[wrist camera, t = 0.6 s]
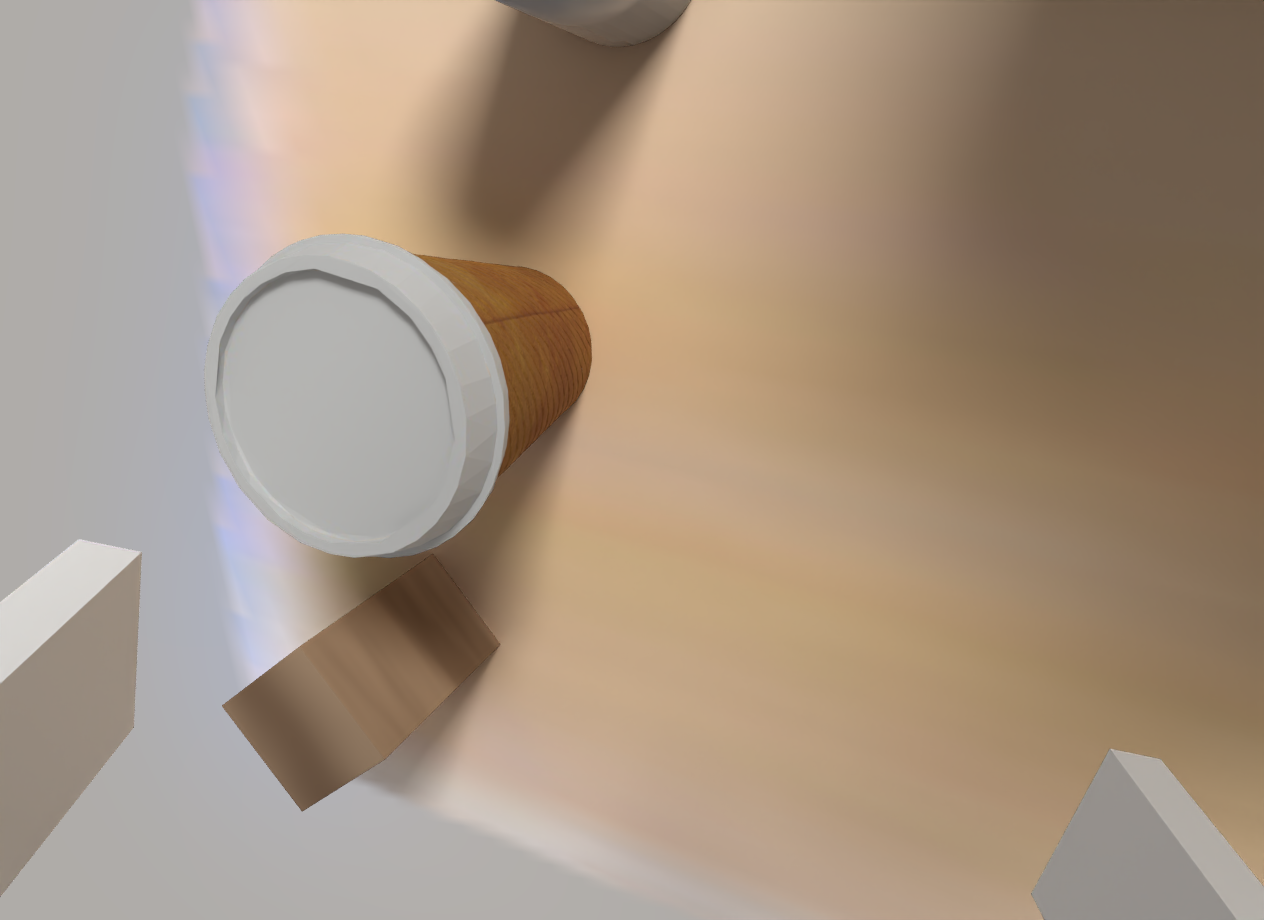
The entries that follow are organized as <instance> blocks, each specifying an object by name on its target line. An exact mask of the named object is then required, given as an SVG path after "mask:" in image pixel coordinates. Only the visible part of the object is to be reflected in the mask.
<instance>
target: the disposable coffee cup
mask: <svg viewBox="0 0 1264 920" xmlns="http://www.w3.org/2000/svg"><path fill="white" fill-rule="evenodd" d="M591 361H592V353H591V338H590V333H589V328H588V325H587V323H586V320H585V318H584V315H583V313H582V311H581V309H580V308H579V306H578V305H577V303H576V302H575V300H574V299H573V297H572V296H571V295H570V294H569V293H568V291H567V290H566V289H565V288H564V287H563V286H562V285H560V284H559V283H558V282H556V281H555V280H554V279H552V278H551V277H549V276H547V275H545V274H543V273H541V272H539V271H537V270H533V269H529V268H525V267H514V266H506V265H498V264H490V263H482V262H474V261H466V260H457V259H445V258H438V257H432V256H425V255H416V254H412V253H410V252H408V251H406V250H404V249H402V248H401V247H399V246H397V245H393V244H390V243H387V242H383V241H380V240H377V239H374V238H370V237H367V236H362V235H351V234H331V235H319V236H316V237H312V238H308V239H304V240H301V241H299V242H296V243H294V244H292V245H289V246H288V247H286V248H284V249H283V250H281V251H279V252H278V253H276V254H275V255H273V256H271V257H270V258H269V259H268V260H267V261H266V262H265V263H264V264H263V265H262V266H261V267H260V268H259V269H258V270H257V271H256V272H254V273H253V274H251V275H250V276H248V277H247V278H245V279H244V280H243V282H242V283H241V284H240V285H239V286H238V287H237V288H236V289H235V290H234V291H233V292H232V293H231V294H230V296H229V297H228V299H227V301H226V302H225V304H224V305H223V307H222V309H221V310H220V312H219V313H218V315H217V317H216V321H215V324H214V327H213V330H212V333H211V336H210V339H209V342H208V346H207V353H206V360H205V368H204V383H205V396H206V404H207V410H208V418H209V421H210V424H211V427H212V430H213V433H214V437H215V440H216V443H217V446H218V449H219V452H220V454H221V456H222V458H223V459H224V461H225V463H226V465H227V467H228V468H229V470H230V472H231V474H232V476H233V477H234V479H235V481H236V483H237V485H238V486H239V488H240V489H241V490H242V491H243V492H244V494H245V495H246V496H247V497H248V498H249V499H250V500H251V502H252V503H253V504H254V505H255V506H256V507H257V508H258V509H259V511H260V512H261V513H262V514H263V515H264V516H265V517H266V518H267V520H269V521H270V522H272V523H273V524H275V525H276V526H277V527H279V528H280V529H282V530H283V531H285V532H286V533H287V534H289V535H290V536H292V537H293V538H295V539H296V540H297V541H299V542H300V543H303V544H305V545H308V546H310V547H313V548H316V549H318V550H321V551H324V552H326V553H329V554H334V555H340V556H347V557H353V558H357V557H383V558H393V557H402V556H410V555H415V554H418V553H421V552H424V551H427V550H430V549H432V548H435V547H437V546H439V545H440V544H442V543H444V542H445V541H447V540H449V539H450V538H452V537H454V536H455V535H456V534H457V533H458V532H459V531H461V530H462V529H463V528H464V527H465V526H466V525H467V524H468V523H470V522H471V521H472V520H473V519H474V518H475V516H476V515H477V513H478V512H479V510H480V509H481V507H482V506H483V504H484V503H485V501H486V500H487V498H488V497H489V495H490V494H491V492H492V491H493V488H494V485H495V482H496V479H497V478H498V477H499V476H500V475H501V474H502V473H503V472H504V471H505V470H506V469H507V468H508V467H509V466H510V465H511V464H512V463H513V462H514V461H515V460H516V459H517V458H518V457H519V456H520V455H521V454H522V453H523V452H524V451H525V450H526V449H527V448H528V447H529V446H530V445H531V444H533V443H534V442H535V441H536V439H537V438H538V437H539V436H540V435H541V434H542V433H543V432H544V431H545V430H546V429H547V428H548V427H550V426H551V424H552V423H553V422H554V421H555V420H556V419H557V418H558V417H559V416H560V415H562V414H563V413H564V412H565V411H566V410H567V409H568V408H569V407H570V406H571V405H572V404H573V403H574V402H575V401H576V400H577V398H578V397H579V395H580V394H581V392H582V391H583V389H584V387H585V384H586V381H587V379H588V376H589V372H590V367H591Z"/></svg>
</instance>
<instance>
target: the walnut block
mask: <svg viewBox="0 0 1264 920" xmlns="http://www.w3.org/2000/svg"><path fill="white" fill-rule="evenodd" d="M499 645H500V643H499V642H498V640H497V639H496V638H495V636H494V635H493V634H492V632H491V631H490V630H489V628H488V627H487V626H486V624H485V623H484V622H483V620H482V619H481V618H480V616H479V615H478V614H477V612H476V611H475V610H474V608H473V607H472V606H471V604H470V603H469V602H468V600H467V599H466V598H465V596H464V595H463V594H462V592H461V591H460V590H459V588H458V587H457V586H456V584H455V583H454V581H453V580H452V579H451V577H450V576H449V575H448V573H447V572H446V571H445V569H444V568H443V567H442V565H441V564H440V563H439V561H438V560H437V559H436V557H435V556H434V555H433V554H432V555H431V556H429V557H428V558H427V559H425V560H424V561H422V562H421V563H419V564H418V565H416V566H415V567H414V568H412V569H411V570H409V571H408V572H406V573H405V574H404V575H402V576H401V577H399V578H398V579H396V580H395V581H393V582H392V583H391V584H389V585H388V586H386V587H385V588H383V589H382V590H380V591H379V592H378V593H376V594H375V595H373V596H372V597H370V598H369V599H367V600H366V601H365V602H363V603H362V604H360V605H359V606H357V607H356V608H354V609H353V610H352V611H350V612H349V613H347V614H346V615H344V616H343V617H341V618H340V619H339V620H337V621H336V622H334V623H333V624H331V625H330V626H328V627H327V628H326V629H324V630H323V631H321V632H320V633H318V634H317V635H315V636H314V637H313V638H311V639H310V640H308V641H307V642H305V643H304V644H302V645H301V646H300V647H298V648H297V649H296V650H294V651H293V652H292V653H290V654H289V655H288V656H286V657H285V658H284V659H283V660H281V661H280V662H279V663H277V664H276V665H275V666H273V667H272V668H271V669H269V670H268V671H267V672H265V673H264V674H263V675H262V676H260V677H259V678H258V679H256V680H255V681H254V682H252V683H251V684H250V685H248V686H247V687H246V688H244V689H243V690H242V691H240V692H239V693H238V694H237V695H235V696H234V697H233V698H231V699H230V700H229V701H227V702H226V703H225V704H224V705H222V707H223V708H224V709H225V711H226V712H227V713H228V714H229V716H230V717H231V719H232V720H233V721H234V723H235V724H236V725H237V727H238V728H239V729H240V730H241V732H242V733H243V734H244V736H245V737H246V738H247V740H248V741H249V742H250V744H251V745H252V746H253V748H254V749H255V750H256V751H257V753H258V754H259V755H260V757H261V758H262V759H263V761H264V762H265V763H266V765H267V766H268V767H269V769H270V770H271V771H272V773H273V774H274V775H275V777H276V778H277V779H278V781H279V782H280V783H281V784H282V786H283V787H284V788H285V790H286V791H287V792H288V794H289V795H290V796H291V798H292V799H293V800H294V801H295V803H296V804H297V805H298V807H299V808H300V809H301V811H304V810H305V809H307V808H309V807H310V806H312V805H313V804H315V803H317V802H318V801H320V800H321V799H323V798H324V797H326V796H328V795H329V794H331V793H332V792H334V791H336V790H337V789H338V788H340V787H342V786H343V785H345V784H347V783H348V782H350V781H352V780H353V779H355V778H356V777H358V776H359V775H361V774H363V773H364V772H366V771H367V770H369V769H371V768H372V767H374V766H375V765H377V764H379V763H380V762H382V761H383V760H385V759H386V758H387V757H388V756H389V755H390V754H391V753H392V752H393V751H394V750H395V749H396V748H397V747H398V746H399V745H400V744H401V743H402V742H403V741H404V740H405V739H406V738H407V737H408V736H409V735H410V734H411V733H412V732H413V731H414V730H415V729H416V728H417V727H418V726H419V725H420V724H421V723H422V722H423V721H424V720H425V719H426V718H427V717H428V716H429V715H430V714H431V713H432V712H433V711H434V710H435V709H436V708H437V707H438V706H439V705H440V704H441V703H442V702H443V701H444V700H445V699H446V698H447V697H448V696H449V695H450V694H451V693H452V692H453V691H454V690H455V689H456V688H457V687H458V686H459V685H460V684H461V683H462V682H463V681H464V680H465V679H466V678H467V677H468V676H469V675H470V674H471V673H472V672H473V671H474V670H475V669H476V668H477V667H478V666H479V665H480V664H481V663H482V662H483V661H484V660H485V659H486V658H487V657H488V656H489V655H490V654H491V653H492V652H493V651H494V650H495V649H496V648H497V647H498V646H499Z"/></svg>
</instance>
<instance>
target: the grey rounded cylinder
mask: <svg viewBox="0 0 1264 920" xmlns="http://www.w3.org/2000/svg"><path fill="white" fill-rule="evenodd" d="M496 1H498V2H500V3H503V4H505V5H507V6H510V7H512V8H514V9H516V10H519V11H521V12H523V13H526V14H528V15H530V16H533V17H535V18H537V19H540V20H542V21H544V22H547V23H549V24H551V25H554V26H556V27H558V28H561V29H563V30H565V31H568V32H570V33H572V34H575V35H577V36H579V37H581V38H584V39H586V40H588V41H591V42H593V43H597V44H600V45H604V46H611V47H625V46H631V45H636V44H639V43H642V42H645V41H647V40H649V39H651V38H653V37H655V36H657V35H658V34H660V33H661V32H663V31H664V30H666V29H667V28H668V27H669V26H670V25H671V24H673V23H674V22H675V21H676V19H677V18H678V17H679V16H680V15H681V14H682V13H683V11H684V10H685V8H686V7H687V6H688V4H689V3H690V1H691V0H496Z"/></svg>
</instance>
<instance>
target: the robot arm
mask: <svg viewBox="0 0 1264 920" xmlns="http://www.w3.org/2000/svg"><path fill="white" fill-rule="evenodd" d="M141 556H142V552H139V551H134V550H129V549H124V548H119V547H114V546H109V545H105V544H100V543H95V542H90V541H85V540H80V539H78V540H77V541H76V542H75V543H73V544H72V545H71V546H70V547H69V548H67V549H66V550H65V551H64V552H62V553H61V554H60V555H59V556H57V557H56V558H55V559H54V560H52V561H51V562H50V563H48V564H47V565H46V566H45V567H44V568H42V569H41V570H40V571H39V572H37V573H36V574H35V575H34V576H32V577H31V578H30V579H29V580H27V581H26V582H25V583H24V584H22V585H21V586H20V587H19V588H17V589H16V590H15V591H14V592H12V593H11V594H10V595H9V596H7V597H6V598H5V599H4V600H2V601H1V602H0V897H1V895H2V894H3V893H4V892H5V890H6V889H7V888H8V886H9V885H10V884H11V883H12V881H13V880H14V879H15V878H16V876H17V875H18V874H19V872H20V871H21V870H22V869H23V867H24V866H25V865H26V863H27V862H28V861H29V860H30V859H31V857H32V856H33V854H34V853H35V852H36V851H37V850H38V848H39V847H40V846H41V844H42V843H43V842H44V841H45V839H46V838H47V837H48V836H49V834H50V833H51V832H52V831H53V829H54V828H55V827H56V825H57V824H58V823H59V822H60V820H61V819H62V818H63V817H64V815H65V814H66V813H67V811H68V810H69V809H70V808H71V806H72V805H73V804H74V803H75V801H76V800H77V799H78V797H79V796H80V795H81V794H82V792H83V791H84V790H85V789H86V787H87V786H88V785H89V784H90V782H91V781H92V780H93V778H94V777H95V776H96V774H97V773H98V772H99V771H100V770H101V768H102V767H103V766H104V764H105V763H106V762H107V760H108V759H109V758H110V757H111V756H112V754H113V753H114V752H115V750H116V749H117V748H118V747H119V745H120V744H121V743H122V742H123V740H124V739H125V738H126V737H127V735H128V734H129V733H130V731H131V730H132V729H133V728H134V711H135V689H136V688H135V687H136V666H137V645H138V644H137V643H138V621H139V599H140V578H141V577H140V576H141ZM1031 894H1032V896H1033V898H1034V900H1035V902H1036V904H1037V906H1038V908H1039V910H1040V912H1041V914H1042V916H1043V918H1044V920H1264V886H1263V885H1262V884H1261V883H1260V881H1259V880H1258V879H1257V878H1256V877H1255V875H1254V874H1253V873H1252V872H1251V870H1250V869H1249V868H1248V867H1247V865H1246V864H1245V863H1244V862H1243V860H1242V859H1241V858H1240V857H1239V855H1238V854H1237V853H1236V852H1235V851H1234V849H1233V848H1232V847H1231V846H1230V844H1229V843H1228V842H1227V841H1226V839H1225V838H1224V837H1223V836H1222V834H1221V833H1220V832H1219V831H1218V829H1217V828H1216V827H1215V826H1214V825H1213V823H1212V822H1211V821H1210V820H1209V818H1208V817H1207V816H1206V815H1205V813H1204V812H1203V811H1202V810H1201V808H1200V807H1199V806H1198V805H1197V803H1196V802H1195V801H1194V800H1193V799H1192V797H1191V796H1190V795H1189V794H1188V792H1187V791H1186V790H1185V789H1184V787H1183V786H1182V785H1181V784H1180V782H1179V781H1178V780H1177V779H1176V777H1175V776H1174V775H1173V774H1172V773H1171V771H1170V770H1169V769H1168V768H1167V766H1166V765H1165V764H1164V763H1163V761H1162V760H1161V759H1158V758H1153V757H1148V756H1143V755H1138V754H1133V753H1128V752H1123V751H1118V750H1114V749H1109V751H1108V753H1107V755H1106V757H1105V759H1104V760H1103V762H1102V764H1101V766H1100V768H1099V770H1098V772H1097V773H1096V775H1095V777H1094V779H1093V781H1092V783H1091V784H1090V786H1089V788H1088V790H1087V792H1086V794H1085V795H1084V797H1083V799H1082V801H1081V803H1080V805H1079V807H1078V808H1077V810H1076V812H1075V814H1074V816H1073V818H1072V819H1071V821H1070V823H1069V825H1068V827H1067V829H1066V831H1065V832H1064V834H1063V836H1062V838H1061V840H1060V842H1059V843H1058V845H1057V847H1056V849H1055V851H1054V853H1053V854H1052V856H1051V858H1050V860H1049V862H1048V864H1047V866H1046V867H1045V869H1044V871H1043V873H1042V875H1041V877H1040V878H1039V880H1038V882H1037V884H1036V886H1035V888H1034V889H1033V891H1032V893H1031Z"/></svg>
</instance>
